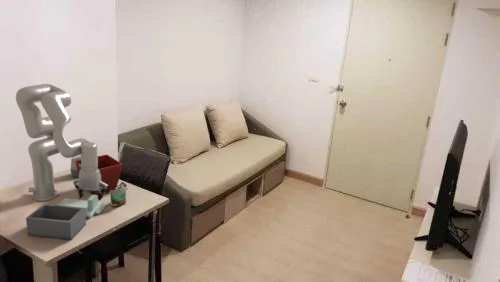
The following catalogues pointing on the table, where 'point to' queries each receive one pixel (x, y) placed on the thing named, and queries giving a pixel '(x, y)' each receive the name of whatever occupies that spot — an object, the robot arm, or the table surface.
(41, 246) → the table surface
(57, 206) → the parts tub
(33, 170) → the robot arm
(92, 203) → the lid
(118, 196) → the food container
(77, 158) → the smart speaker
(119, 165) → the plant pot
